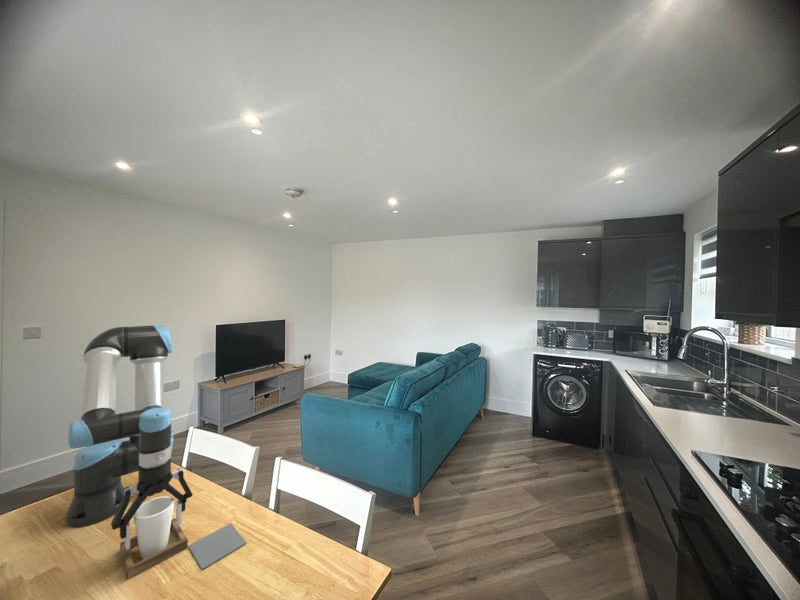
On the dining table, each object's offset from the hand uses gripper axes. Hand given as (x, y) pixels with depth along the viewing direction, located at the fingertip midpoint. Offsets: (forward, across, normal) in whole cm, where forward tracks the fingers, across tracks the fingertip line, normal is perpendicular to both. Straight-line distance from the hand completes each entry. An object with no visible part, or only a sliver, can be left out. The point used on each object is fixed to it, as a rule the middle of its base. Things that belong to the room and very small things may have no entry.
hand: (154, 534), depth 90 cm
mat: (+5, +13, -12) cm, 19 cm away
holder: (+5, 0, 0) cm, 5 cm away
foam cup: (+5, 0, 0) cm, 5 cm away
